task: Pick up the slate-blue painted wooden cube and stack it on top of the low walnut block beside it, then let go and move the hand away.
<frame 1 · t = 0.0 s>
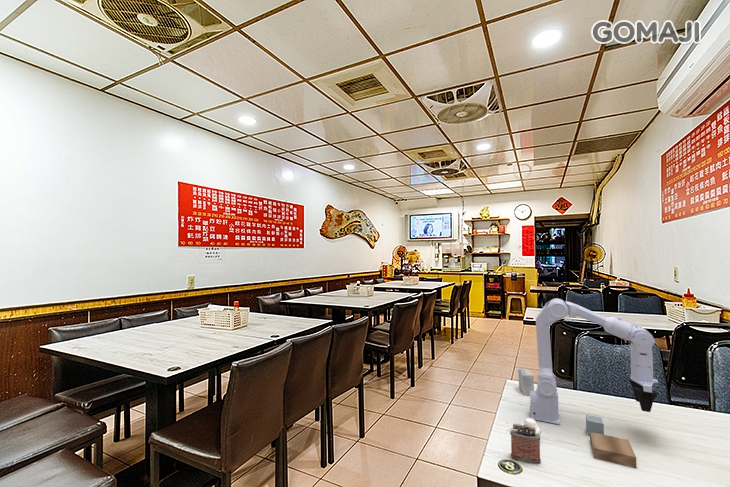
hand: (642, 406, 111), 10 cm above the table, tool pointing down, fingers open, 7 cm apart
medicine box: (526, 392, 147), on the table
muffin: (530, 440, 110), on the table
lighter: (525, 460, 99), on the table
walnut block: (611, 453, 102), on the table
slate cube: (594, 434, 113), on the table
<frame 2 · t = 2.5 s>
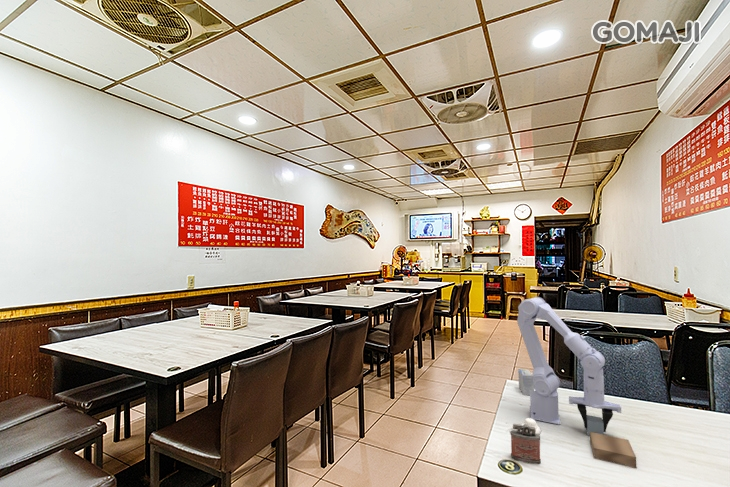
hand: (594, 429, 113), 2 cm above the table, tool pointing down, fingers closed on slate cube, 4 cm apart
slate cube: (594, 433, 113), on the table, touching gripper
everything else where it was.
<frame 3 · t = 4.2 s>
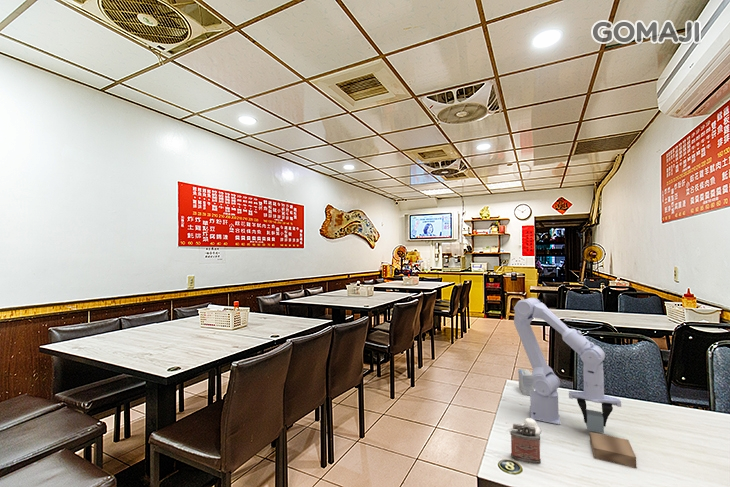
hand: (594, 423, 113), 3 cm above the table, tool pointing down, fingers closed on slate cube, 4 cm apart
slate cube: (594, 428, 113), point 2 cm above the table, touching gripper
everything else where it was.
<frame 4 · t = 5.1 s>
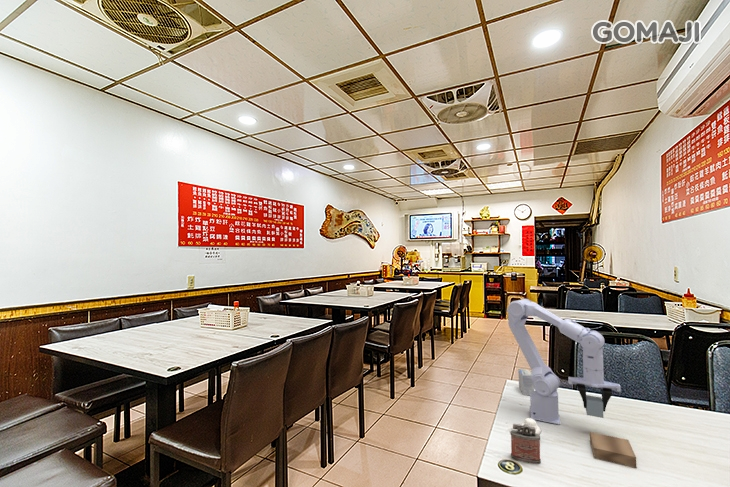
hand: (594, 408, 113), 8 cm above the table, tool pointing down, fingers closed on slate cube, 4 cm apart
slate cube: (594, 413, 113), point 7 cm above the table, touching gripper
everything else where it was.
when the fingers open (6 cm above the table, at t = 7.6 s): slate cube drops 1 cm, resting on walnut block.
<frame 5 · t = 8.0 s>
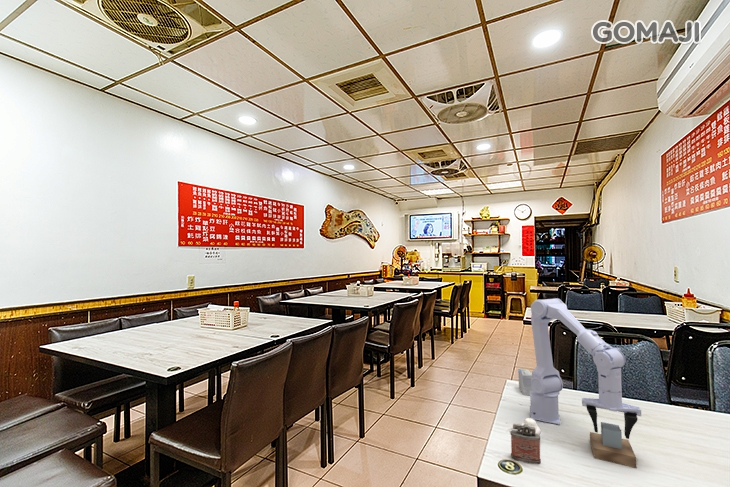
hand: (611, 434, 102), 6 cm above the table, tool pointing down, fingers open, 7 cm apart
slate cube: (611, 443, 102), point 3 cm above the table, touching walnut block
everything else where it was.
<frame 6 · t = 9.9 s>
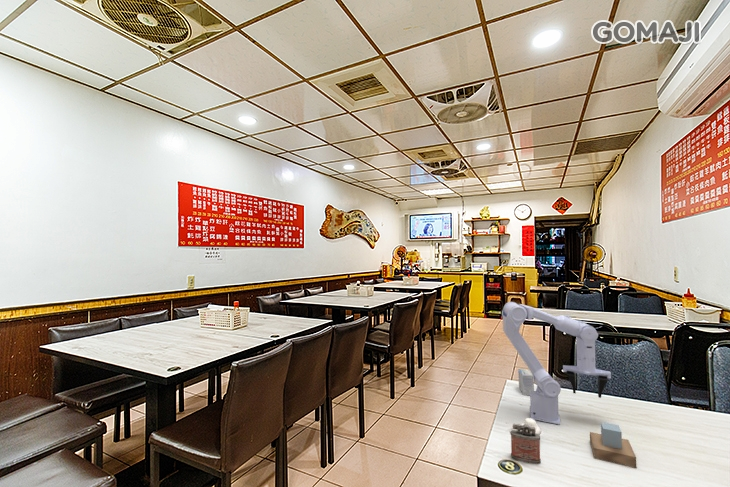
hand: (586, 394, 122), 9 cm above the table, tool pointing down, fingers open, 7 cm apart
nothing on the table moved.
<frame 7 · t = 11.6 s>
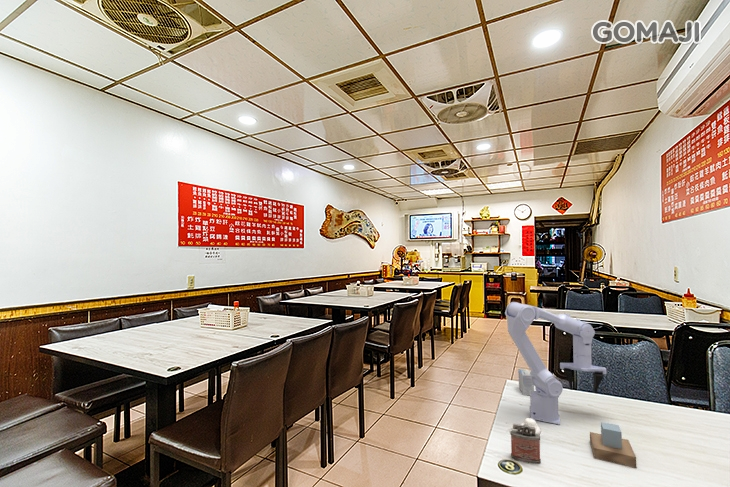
hand: (583, 390, 126), 9 cm above the table, tool pointing down, fingers open, 7 cm apart
nothing on the table moved.
at the end: slate cube 0.1 cm off-centre on the walnut block, point 3.0 cm above the walnut block's base; slate cube tilted 0°; the gripper is holding nothing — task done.
